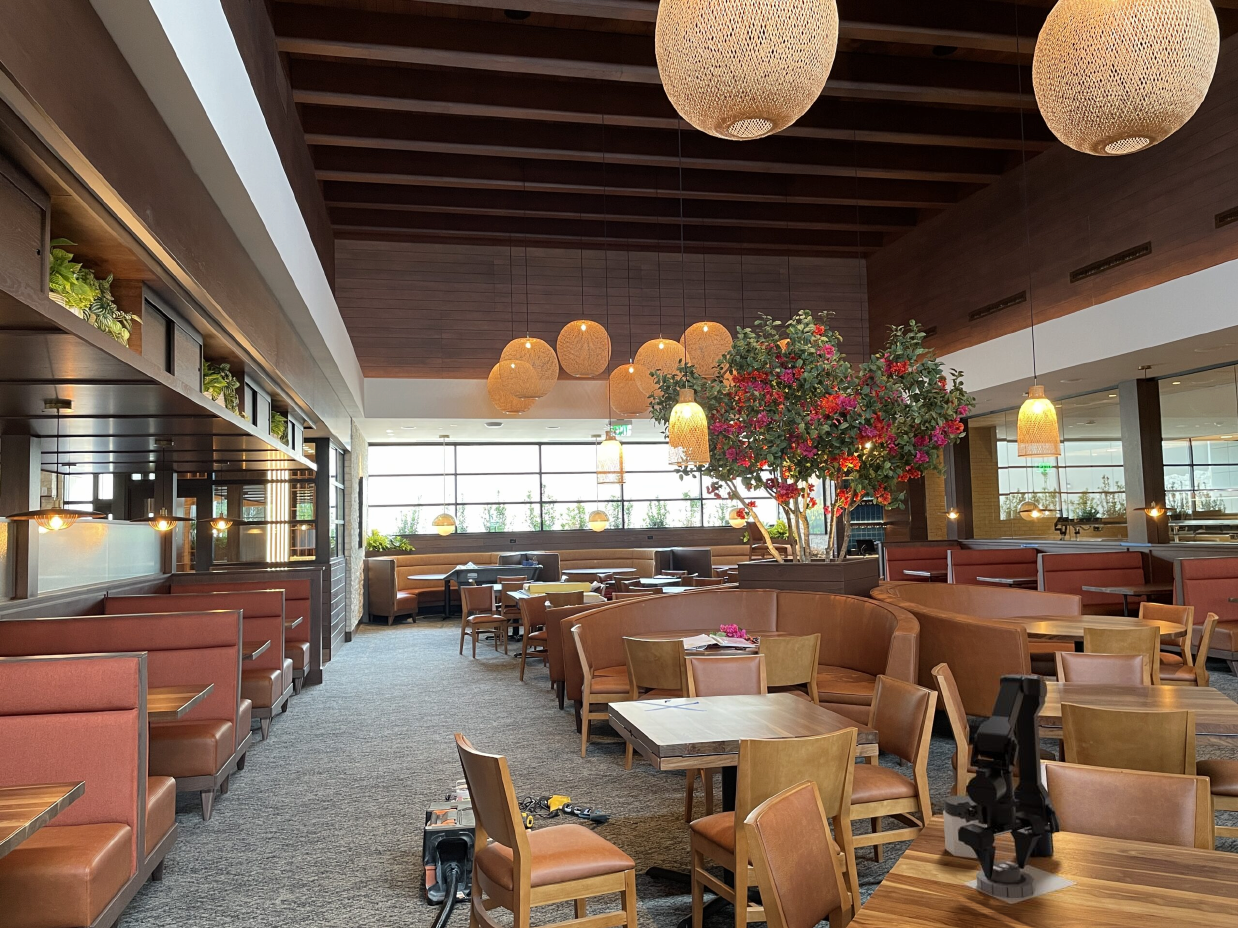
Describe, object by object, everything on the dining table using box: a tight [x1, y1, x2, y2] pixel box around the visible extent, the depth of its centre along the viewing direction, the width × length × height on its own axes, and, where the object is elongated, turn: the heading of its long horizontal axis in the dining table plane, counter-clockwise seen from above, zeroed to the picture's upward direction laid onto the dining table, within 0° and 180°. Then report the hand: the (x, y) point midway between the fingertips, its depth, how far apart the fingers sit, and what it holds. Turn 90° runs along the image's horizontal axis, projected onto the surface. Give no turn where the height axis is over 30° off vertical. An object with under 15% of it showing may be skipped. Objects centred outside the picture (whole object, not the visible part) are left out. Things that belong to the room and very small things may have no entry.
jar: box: [942, 795, 987, 859], centre depth 202 cm, size 9×8×12 cm
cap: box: [989, 861, 1021, 884], centre depth 181 cm, size 6×6×4 cm
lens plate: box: [962, 864, 1079, 905], centre depth 182 cm, size 19×12×3 cm, turn 116°
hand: (1004, 872), depth 181 cm, fingers open, 9 cm apart
